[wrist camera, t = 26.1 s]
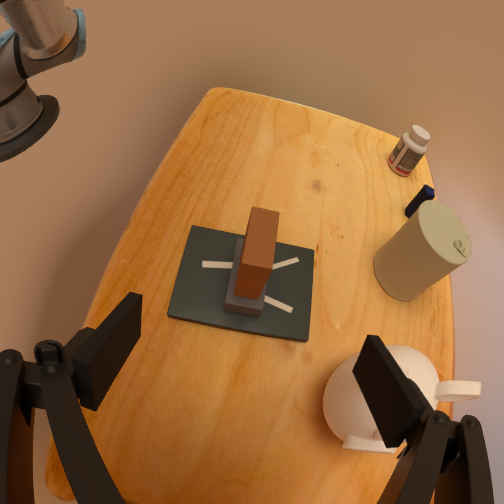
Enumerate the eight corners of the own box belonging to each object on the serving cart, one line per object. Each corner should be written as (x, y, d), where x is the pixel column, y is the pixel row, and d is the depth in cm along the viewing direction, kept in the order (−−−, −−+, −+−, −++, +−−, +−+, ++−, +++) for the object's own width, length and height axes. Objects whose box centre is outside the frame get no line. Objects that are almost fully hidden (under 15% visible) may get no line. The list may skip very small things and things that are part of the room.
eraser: (414, 212, 47) (435, 188, 41) (414, 221, 45) (435, 197, 40) (405, 207, 47) (425, 182, 41) (404, 215, 46) (425, 191, 40)
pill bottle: (413, 172, 52) (437, 139, 44) (401, 180, 50) (427, 144, 42) (395, 154, 54) (416, 120, 46) (382, 161, 52) (404, 124, 43)
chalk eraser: (223, 310, 33) (230, 272, 24) (235, 248, 37) (246, 196, 28) (258, 317, 33) (279, 281, 24) (267, 255, 37) (287, 205, 28)
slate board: (168, 316, 32) (166, 314, 31) (192, 229, 38) (192, 224, 37) (305, 342, 33) (308, 340, 32) (311, 253, 39) (314, 249, 38)
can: (401, 313, 37) (458, 277, 26) (361, 262, 40) (407, 213, 29) (431, 279, 40) (481, 241, 30) (396, 235, 43) (438, 188, 33)
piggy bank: (305, 456, 26) (374, 484, 13) (305, 358, 32) (371, 323, 19) (397, 440, 28) (486, 440, 15) (394, 354, 34) (477, 318, 21)
